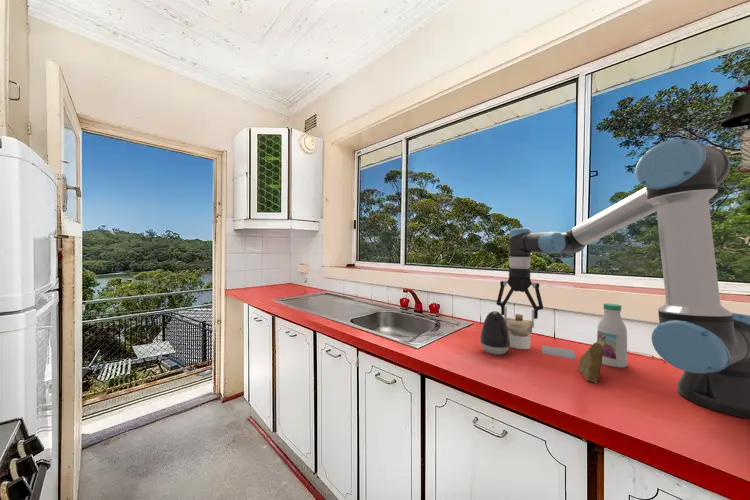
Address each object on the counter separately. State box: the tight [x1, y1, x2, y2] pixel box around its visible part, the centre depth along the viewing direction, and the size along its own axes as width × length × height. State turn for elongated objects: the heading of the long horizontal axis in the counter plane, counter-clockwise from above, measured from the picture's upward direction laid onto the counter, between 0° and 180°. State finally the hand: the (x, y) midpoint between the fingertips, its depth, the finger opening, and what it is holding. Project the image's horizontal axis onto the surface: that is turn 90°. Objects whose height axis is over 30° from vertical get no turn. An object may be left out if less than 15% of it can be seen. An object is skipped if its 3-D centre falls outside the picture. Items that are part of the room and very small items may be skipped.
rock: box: [578, 341, 603, 384], centre depth 86 cm, size 11×9×10 cm
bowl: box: [509, 331, 531, 350], centre depth 111 cm, size 8×8×5 cm
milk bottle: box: [596, 302, 628, 368], centre depth 95 cm, size 8×8×20 cm
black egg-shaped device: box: [479, 310, 510, 356], centre depth 104 cm, size 10×10×15 cm
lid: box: [506, 313, 533, 334], centre depth 111 cm, size 9×9×6 cm
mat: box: [541, 345, 577, 360], centre depth 104 cm, size 10×10×1 cm
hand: (518, 325), depth 111 cm, fingers closed on lid, 9 cm apart
